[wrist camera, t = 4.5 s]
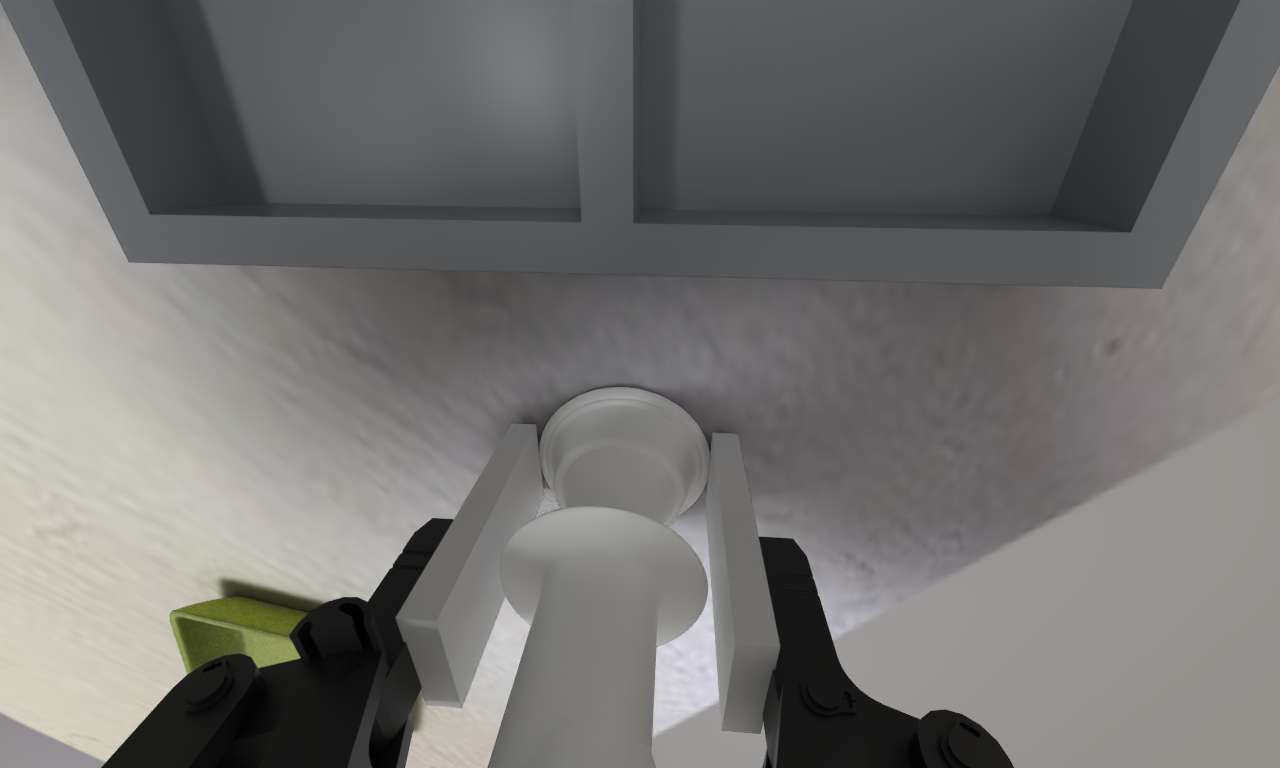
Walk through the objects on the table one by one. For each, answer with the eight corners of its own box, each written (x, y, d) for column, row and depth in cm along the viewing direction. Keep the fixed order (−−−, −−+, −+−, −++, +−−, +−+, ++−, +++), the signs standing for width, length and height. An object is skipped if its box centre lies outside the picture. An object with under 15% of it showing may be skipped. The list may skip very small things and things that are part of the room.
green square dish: (413, 722, 24) (390, 771, 22) (239, 682, 23) (201, 729, 21) (423, 616, 20) (396, 665, 18) (213, 564, 19) (164, 609, 17)
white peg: (531, 382, 14) (20, 1211, 3) (715, 386, 13) (854, 1355, 3) (549, 520, 16) (300, 1246, 6) (705, 527, 16) (759, 1324, 5)
